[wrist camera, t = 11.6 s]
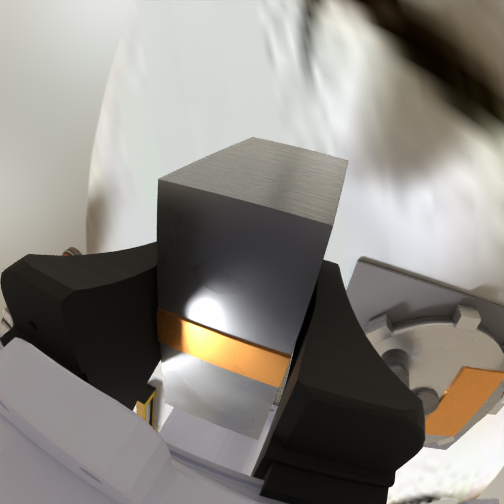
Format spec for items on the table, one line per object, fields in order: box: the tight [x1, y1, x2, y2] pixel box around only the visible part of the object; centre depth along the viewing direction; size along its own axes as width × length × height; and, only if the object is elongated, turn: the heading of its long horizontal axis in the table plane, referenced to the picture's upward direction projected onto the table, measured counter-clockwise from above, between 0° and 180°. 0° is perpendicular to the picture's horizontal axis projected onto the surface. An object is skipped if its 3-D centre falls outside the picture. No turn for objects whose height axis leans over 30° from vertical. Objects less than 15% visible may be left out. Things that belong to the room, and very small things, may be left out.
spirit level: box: [136, 383, 156, 428], centre depth 42 cm, size 33×1×3 cm, turn 164°
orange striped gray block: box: [156, 137, 348, 440], centre depth 10 cm, size 4×8×6 cm, turn 171°
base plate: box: [346, 260, 504, 450], centre depth 22 cm, size 18×18×1 cm
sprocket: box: [365, 305, 504, 446], centre depth 20 cm, size 17×17×4 cm
